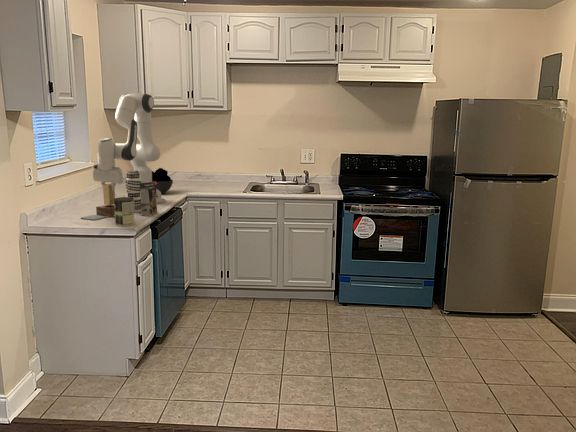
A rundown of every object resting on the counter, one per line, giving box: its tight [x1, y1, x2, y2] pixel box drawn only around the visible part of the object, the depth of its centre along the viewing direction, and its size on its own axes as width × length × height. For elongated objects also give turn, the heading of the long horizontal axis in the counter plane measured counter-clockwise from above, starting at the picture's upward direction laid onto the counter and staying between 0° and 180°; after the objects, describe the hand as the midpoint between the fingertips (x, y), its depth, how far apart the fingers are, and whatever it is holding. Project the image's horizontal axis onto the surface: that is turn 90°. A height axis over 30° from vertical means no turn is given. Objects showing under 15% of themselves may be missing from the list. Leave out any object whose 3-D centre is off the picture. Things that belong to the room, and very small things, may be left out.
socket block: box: [95, 204, 115, 218], centre depth 302 cm, size 11×11×5 cm
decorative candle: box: [125, 169, 141, 213], centre depth 312 cm, size 9×9×25 cm
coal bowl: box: [151, 167, 174, 194], centre depth 377 cm, size 20×20×19 cm
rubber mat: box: [80, 214, 108, 222], centre depth 292 cm, size 10×10×1 cm
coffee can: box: [114, 196, 136, 227], centre depth 277 cm, size 10×10×14 cm
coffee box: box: [140, 187, 158, 217], centre depth 303 cm, size 9×6×16 cm
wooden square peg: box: [102, 182, 116, 205], centre depth 300 cm, size 4×4×12 cm
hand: (108, 189), depth 300 cm, fingers closed on wooden square peg, 4 cm apart
